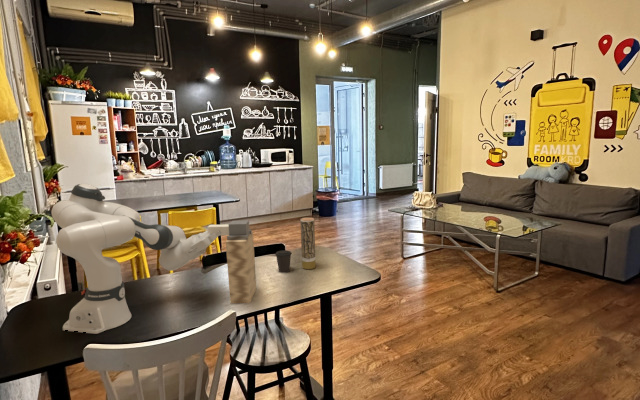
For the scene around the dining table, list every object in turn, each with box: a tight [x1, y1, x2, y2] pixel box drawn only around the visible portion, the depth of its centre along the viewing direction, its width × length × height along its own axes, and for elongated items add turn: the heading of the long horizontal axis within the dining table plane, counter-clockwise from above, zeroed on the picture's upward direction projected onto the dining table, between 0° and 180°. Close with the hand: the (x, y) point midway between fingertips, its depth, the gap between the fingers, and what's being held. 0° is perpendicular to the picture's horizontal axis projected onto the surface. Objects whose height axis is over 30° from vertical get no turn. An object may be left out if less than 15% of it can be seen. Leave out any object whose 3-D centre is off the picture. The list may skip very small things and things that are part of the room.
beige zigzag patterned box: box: [225, 229, 257, 304], centre depth 160 cm, size 8×14×28 cm, turn 179°
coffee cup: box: [275, 249, 292, 274], centre depth 188 cm, size 8×8×10 cm
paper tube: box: [300, 217, 317, 270], centre depth 191 cm, size 7×7×25 cm
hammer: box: [206, 220, 251, 236], centre depth 157 cm, size 16×6×6 cm, turn 89°
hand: (223, 229), depth 157 cm, fingers open, 8 cm apart
